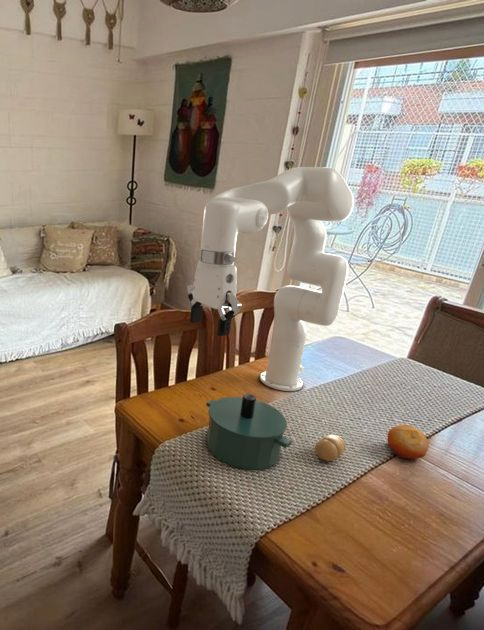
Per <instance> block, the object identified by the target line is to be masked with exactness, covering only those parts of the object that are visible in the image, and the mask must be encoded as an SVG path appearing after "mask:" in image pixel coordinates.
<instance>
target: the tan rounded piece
mask: <svg viewBox="0 0 484 630" xmlns="http://www.w3.org/2000/svg"><path fill="white" fill-rule="evenodd" d="M314 451H315V454H316V456H317V457H318V458H319V459H320V460H322V461H326V462H332V461H334V460H336V459H338V458H339V457H340V456H342V455H343V454H344V453H345V451H346V442H344V440H343V439H342V438H341V437H340V436H339V435H336V434H328V435H325V436H323V437H322V438H320V439H319V440H318V441H317V442H316V443H315V446H314Z"/></svg>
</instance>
